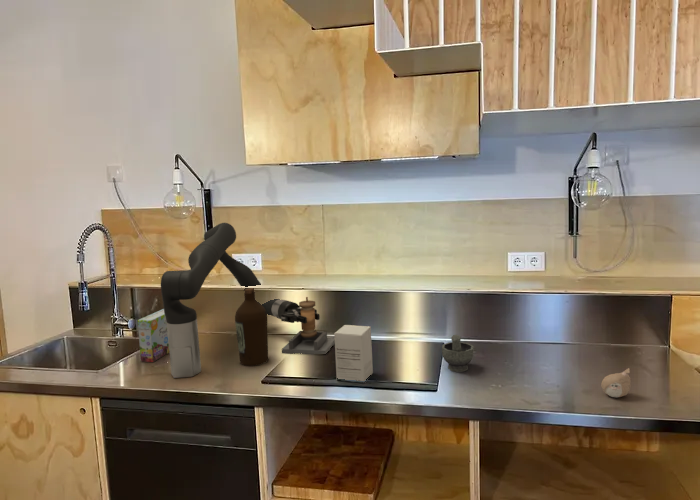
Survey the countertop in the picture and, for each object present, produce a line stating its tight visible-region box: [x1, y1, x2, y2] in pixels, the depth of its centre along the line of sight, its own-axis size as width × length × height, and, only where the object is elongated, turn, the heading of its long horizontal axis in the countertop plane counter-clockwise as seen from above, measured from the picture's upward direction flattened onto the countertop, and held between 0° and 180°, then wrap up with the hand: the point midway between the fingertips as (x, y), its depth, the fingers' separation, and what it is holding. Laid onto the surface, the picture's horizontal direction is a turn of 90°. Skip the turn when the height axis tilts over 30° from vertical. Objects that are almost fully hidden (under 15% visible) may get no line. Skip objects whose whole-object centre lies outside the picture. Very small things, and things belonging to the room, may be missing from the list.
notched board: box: [281, 330, 335, 355], centre depth 184 cm, size 16×14×4 cm
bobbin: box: [298, 296, 318, 337], centre depth 183 cm, size 6×6×14 cm
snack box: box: [137, 308, 169, 363], centre depth 185 cm, size 21×6×15 cm, turn 168°
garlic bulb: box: [600, 367, 632, 398], centre depth 134 cm, size 7×6×8 cm
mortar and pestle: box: [441, 334, 475, 373], centre depth 157 cm, size 11×9×12 cm
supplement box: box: [333, 324, 374, 381], centre depth 154 cm, size 9×9×15 cm
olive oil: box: [234, 288, 269, 367], centre depth 171 cm, size 11×11×25 cm
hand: (312, 318), depth 181 cm, fingers closed on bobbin, 5 cm apart
